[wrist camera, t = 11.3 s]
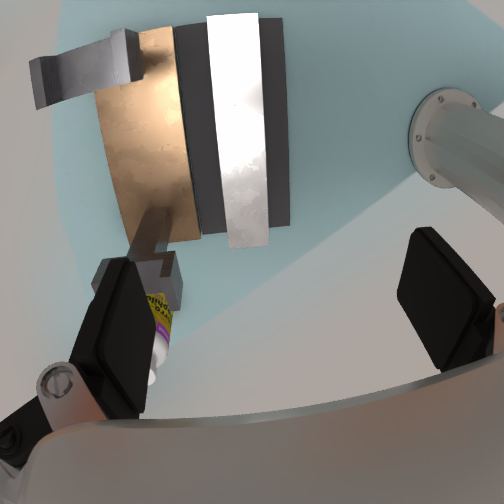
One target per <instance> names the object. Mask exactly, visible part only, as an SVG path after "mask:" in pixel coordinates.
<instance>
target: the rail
mask: <svg viewBox="0 0 504 504" xmlns="http://www.w3.org/2000/svg"><path fill="white" fill-rule="evenodd" d="M207 24H208V37H209V49H210V62H211V73H212V85H213V96H214V107H215V118H216V129H217V139H218V149H219V159H220V169H221V178H222V188H223V197H224V206H225V216H226V224H227V233H228V242H229V249H238V248H248V247H258V246H268V245H269V225H268V199H267V175H266V152H265V132H264V112H263V93H262V75H261V58H260V42H259V26H258V13H248V14H231V15H218V16H208V17H207Z"/></svg>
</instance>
